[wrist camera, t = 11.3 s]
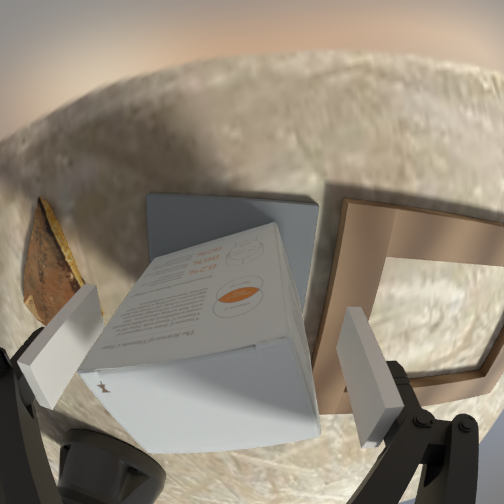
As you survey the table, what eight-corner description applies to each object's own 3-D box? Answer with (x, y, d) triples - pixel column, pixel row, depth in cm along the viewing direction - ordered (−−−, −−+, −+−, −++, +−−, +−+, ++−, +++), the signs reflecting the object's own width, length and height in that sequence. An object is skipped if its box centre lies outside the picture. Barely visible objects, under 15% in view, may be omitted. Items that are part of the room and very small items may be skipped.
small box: (187, 326, 21) (144, 455, 11) (153, 255, 19) (70, 372, 9) (301, 299, 20) (324, 441, 10) (278, 218, 18) (292, 337, 8)
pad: (159, 328, 22) (157, 332, 21) (149, 192, 18) (146, 195, 17) (295, 340, 22) (296, 345, 21) (317, 203, 18) (319, 206, 17)
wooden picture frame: (299, 404, 25) (300, 414, 24) (343, 197, 18) (348, 203, 16) (485, 385, 24) (489, 392, 23) (553, 235, 17) (561, 240, 16)
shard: (50, 190, 18) (35, 197, 17) (133, 241, 20) (123, 252, 18) (29, 297, 22) (19, 308, 21) (96, 342, 24) (88, 355, 22)
